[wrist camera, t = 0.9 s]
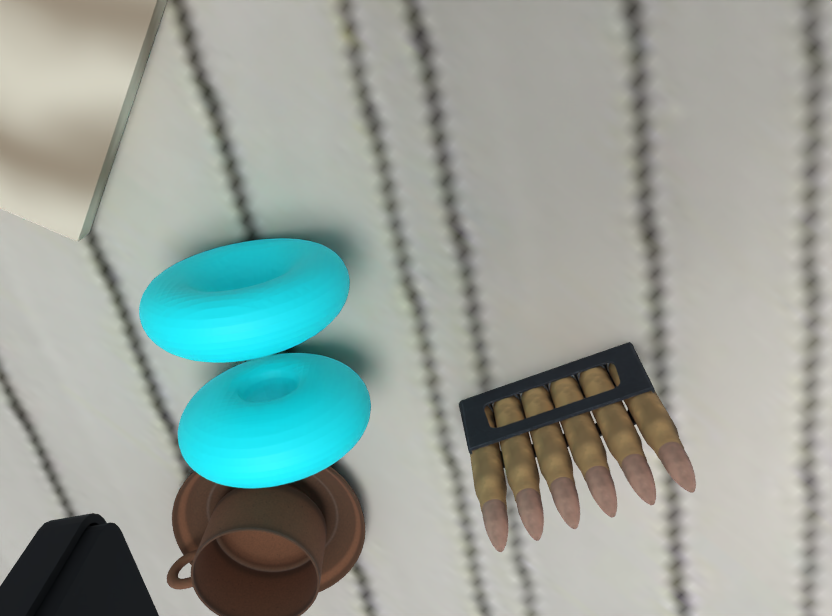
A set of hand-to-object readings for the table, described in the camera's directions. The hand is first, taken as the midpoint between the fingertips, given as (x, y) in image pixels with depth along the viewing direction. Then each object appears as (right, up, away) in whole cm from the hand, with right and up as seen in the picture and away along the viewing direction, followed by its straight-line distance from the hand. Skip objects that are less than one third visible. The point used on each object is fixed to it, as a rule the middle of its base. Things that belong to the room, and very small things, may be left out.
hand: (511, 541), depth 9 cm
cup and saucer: (-10, -10, +38) cm, 41 cm away
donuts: (-9, +2, +32) cm, 33 cm away
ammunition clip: (+7, -2, +34) cm, 35 cm away
